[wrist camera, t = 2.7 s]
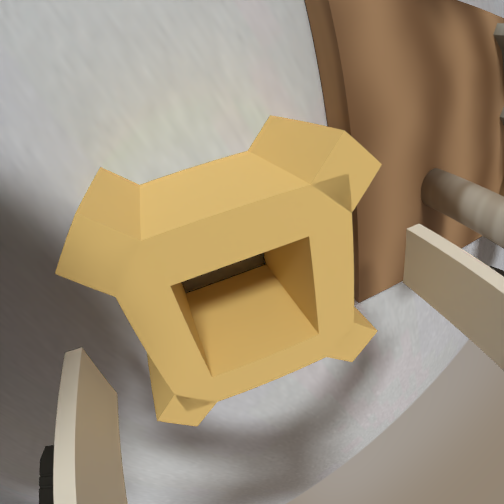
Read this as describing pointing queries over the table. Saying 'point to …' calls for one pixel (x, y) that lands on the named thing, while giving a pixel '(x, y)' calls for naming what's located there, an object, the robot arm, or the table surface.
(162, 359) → the tan notched block
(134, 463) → the table surface
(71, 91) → the table surface
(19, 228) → the table surface
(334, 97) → the board
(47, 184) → the table surface
